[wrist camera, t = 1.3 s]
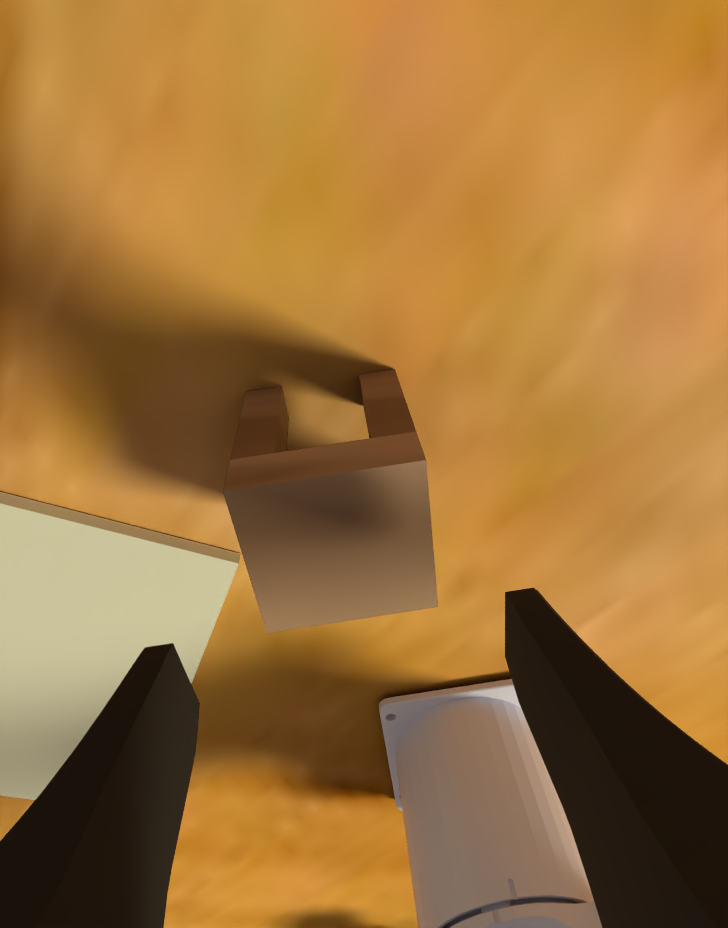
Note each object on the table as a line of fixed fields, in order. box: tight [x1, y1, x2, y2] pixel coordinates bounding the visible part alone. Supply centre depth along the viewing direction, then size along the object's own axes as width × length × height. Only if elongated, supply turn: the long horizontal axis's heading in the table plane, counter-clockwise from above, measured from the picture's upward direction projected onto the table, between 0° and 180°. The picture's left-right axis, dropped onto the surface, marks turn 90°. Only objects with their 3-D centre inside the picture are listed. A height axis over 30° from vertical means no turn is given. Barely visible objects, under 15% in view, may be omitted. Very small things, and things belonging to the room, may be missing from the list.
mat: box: [0, 492, 240, 800], centre depth 25 cm, size 18×12×1 cm, turn 157°
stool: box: [223, 369, 438, 633], centre depth 18 cm, size 5×5×6 cm
